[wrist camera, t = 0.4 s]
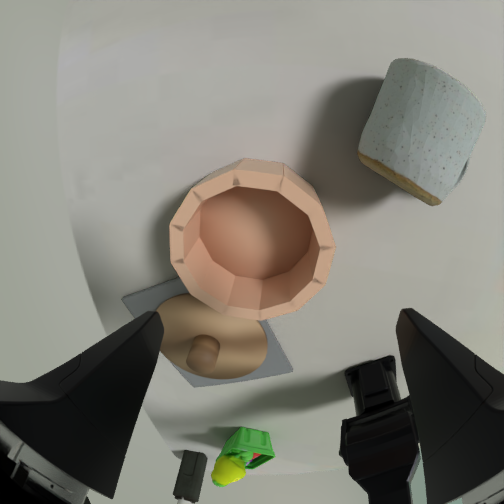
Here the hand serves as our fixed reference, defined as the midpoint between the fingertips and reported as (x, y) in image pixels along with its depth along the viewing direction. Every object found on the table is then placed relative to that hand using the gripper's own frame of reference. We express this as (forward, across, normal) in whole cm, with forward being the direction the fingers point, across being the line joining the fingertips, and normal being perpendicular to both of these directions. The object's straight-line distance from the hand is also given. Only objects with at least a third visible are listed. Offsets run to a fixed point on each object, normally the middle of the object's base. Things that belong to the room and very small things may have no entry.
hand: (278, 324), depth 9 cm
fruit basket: (+14, +7, +42) cm, 45 cm away
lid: (+13, +8, +14) cm, 21 cm away
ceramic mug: (+14, -11, -6) cm, 19 cm away
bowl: (+14, +2, +2) cm, 14 cm away
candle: (+14, +20, +57) cm, 62 cm away
